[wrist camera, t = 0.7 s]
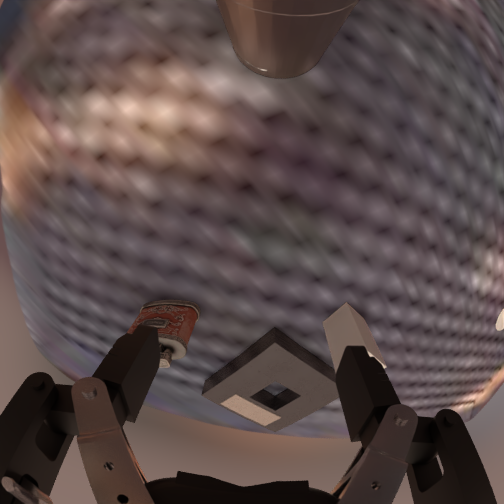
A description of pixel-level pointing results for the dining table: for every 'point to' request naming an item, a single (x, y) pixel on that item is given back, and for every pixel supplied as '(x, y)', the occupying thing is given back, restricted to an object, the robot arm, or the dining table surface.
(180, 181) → the dining table surface
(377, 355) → the peg
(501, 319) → the champagne flute
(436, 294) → the dining table surface
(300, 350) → the slot holder
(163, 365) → the lighter
